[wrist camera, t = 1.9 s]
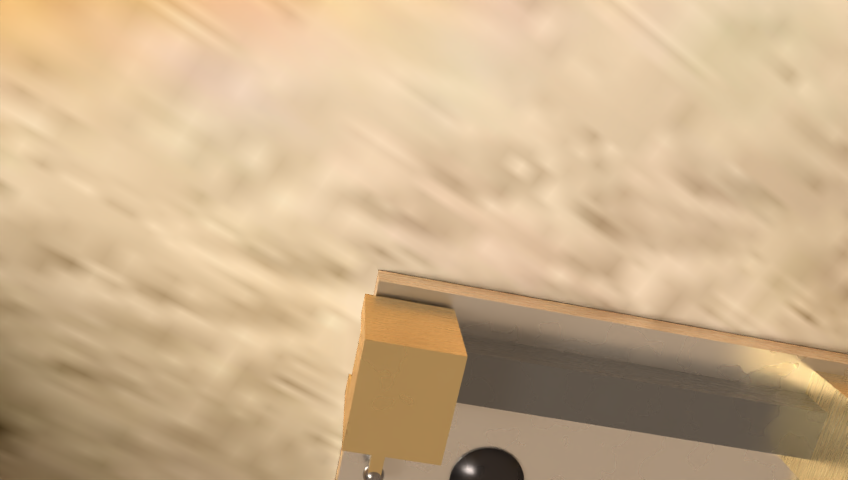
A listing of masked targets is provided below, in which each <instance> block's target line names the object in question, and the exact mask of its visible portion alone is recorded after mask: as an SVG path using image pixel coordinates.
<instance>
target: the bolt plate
mask: <svg viewBox="0 0 848 480" xmlns="http://www.w3.org/2000/svg"><path fill="white" fill-rule="evenodd" d="M373 295H375V296H381V297H386V298H392V299H398V300H403V301H409V302H415V303H420V304H426V305H432V306H437V307H443V308H449V309H454V310H455V314H456V317H457V321H458V324H459V328H460V331H461V335H462V338H463V342H464V345H465V349H466V353H467V356H468V357H467V361H466V366H465V370H464V374H463V378H462V382H461V386H460V390H459V394H458V398H457V402H456V406H455V410H454V414H453V419H452V423H451V427H450V431H449V435H448V439H447V443H446V447H445V451H444V455H443V459H442V463H441V466H440V465H434V464H427V463H421V462H414V461H407V460H401V459H394V458H388V457H385V460H384V464H383V470H384V479H383V480H848V354H843V353H837V352H831V351H826V350H820V349H815V348H809V347H804V346H798V345H793V344H787V343H781V342H776V341H770V340H765V339H759V338H754V337H748V336H743V335H737V334H731V333H726V332H720V331H715V330H709V329H704V328H698V327H693V326H687V325H681V324H676V323H670V322H665V321H659V320H654V319H648V318H643V317H637V316H631V315H626V314H620V313H615V312H609V311H604V310H598V309H593V308H587V307H581V306H576V305H570V304H565V303H559V302H554V301H548V300H543V299H537V298H531V297H526V296H520V295H515V294H509V293H504V292H498V291H493V290H487V289H481V288H476V287H470V286H465V285H459V284H454V283H448V282H443V281H437V280H432V279H426V278H420V277H415V276H409V275H404V274H398V273H393V272H387V271H382V270H378V275H377V280H376V285H375V290H374V294H373ZM369 460H370V455H368V454H361V453H355V452H348V451H342V449H341V454H340V459H339V464H338V468H337V473H336V478H335V480H364V479H363V470H364V468H365V467H366V466H367V465H368V464H369Z"/></svg>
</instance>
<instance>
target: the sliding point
mask: <svg viewBox="0 0 848 480" xmlns="http://www.w3.org/2000/svg"><path fill="white" fill-rule="evenodd" d="M467 357H468V356H467V353H466V349H465V345H464V342H463V338H462V335H461V331H460V328H459V324H458V321H457V317H456V314H455V310H454V309H449V308H443V307H437V306H432V305H426V304H420V303H415V302H409V301H403V300H398V299H392V298H386V297H381V296H375V295H369V294H365V297H364V302H363V307H362V312H361V333H360V338H359V343H358V348H357V352H356V357H355V362H354V367H353V372H352V375H351V374H349V376H348V381H347V386H346V390H345V404H344V422H343V439H342V451H348V452H355V453H361V454H368V455H370V460H369V464H368V465H367V466H366V467H365V468H364V470H363V479H364V480H383V479H384V470H383V464H384V460H385V457H388V458H394V459H401V460H407V461H414V462H421V463H427V464H434V465H440V466H441V463H442V459H443V455H444V451H445V447H446V443H447V439H448V435H449V431H450V427H451V423H452V419H453V414H454V410H455V406H456V402H457V398H458V394H459V390H460V386H461V382H462V378H463V374H464V370H465V366H466V361H467Z"/></svg>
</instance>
